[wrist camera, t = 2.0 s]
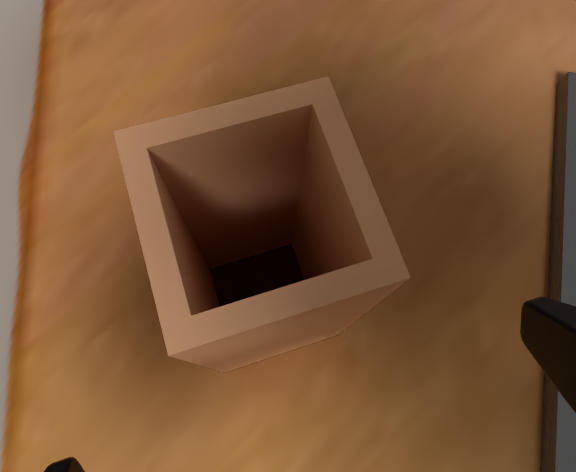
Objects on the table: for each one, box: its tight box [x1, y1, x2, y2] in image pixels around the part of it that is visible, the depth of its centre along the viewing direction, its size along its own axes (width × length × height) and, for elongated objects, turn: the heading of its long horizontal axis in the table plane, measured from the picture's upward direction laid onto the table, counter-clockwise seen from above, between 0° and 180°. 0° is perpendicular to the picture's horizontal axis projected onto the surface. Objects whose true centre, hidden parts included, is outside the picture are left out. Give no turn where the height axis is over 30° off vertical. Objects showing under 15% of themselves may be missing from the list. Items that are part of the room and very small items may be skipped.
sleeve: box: [114, 76, 411, 373], centre depth 15 cm, size 5×5×11 cm
